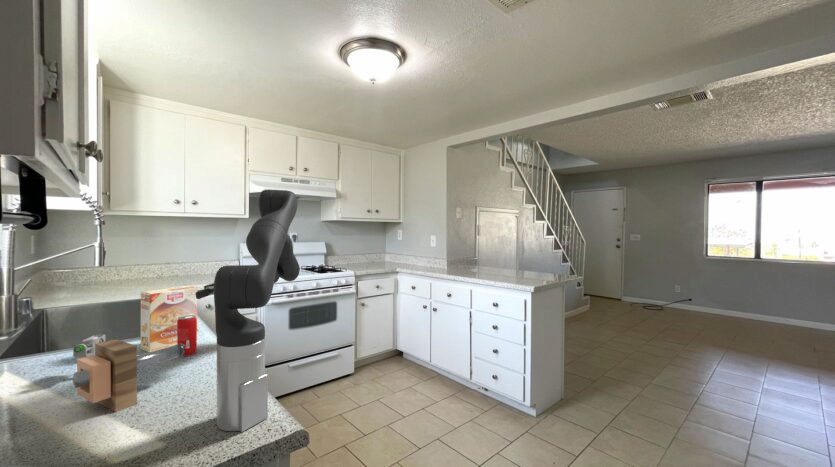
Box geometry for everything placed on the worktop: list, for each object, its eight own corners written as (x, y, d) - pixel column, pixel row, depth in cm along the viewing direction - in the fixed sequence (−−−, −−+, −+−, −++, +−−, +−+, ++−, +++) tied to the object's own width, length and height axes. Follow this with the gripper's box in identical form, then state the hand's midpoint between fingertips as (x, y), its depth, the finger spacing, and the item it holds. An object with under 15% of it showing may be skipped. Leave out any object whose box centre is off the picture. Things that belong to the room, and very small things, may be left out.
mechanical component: (70, 384, 90) (70, 346, 90) (95, 368, 100) (95, 334, 99) (84, 382, 91) (84, 345, 90) (107, 367, 100) (107, 333, 100)
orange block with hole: (110, 397, 77) (110, 361, 77) (93, 403, 74) (92, 366, 74) (94, 389, 80) (94, 354, 80) (77, 394, 78) (77, 359, 78)
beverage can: (173, 355, 111) (173, 317, 110) (190, 350, 115) (190, 314, 115) (183, 358, 108) (183, 320, 108) (200, 352, 113) (199, 316, 113)
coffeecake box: (149, 353, 112) (149, 293, 111) (139, 349, 115) (139, 291, 115) (198, 340, 125) (198, 286, 124) (187, 337, 128) (187, 285, 128)
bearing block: (136, 403, 80) (136, 345, 80) (115, 411, 77) (115, 351, 76) (116, 393, 85) (116, 339, 85) (95, 401, 81) (95, 343, 81)
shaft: (177, 354, 94) (177, 342, 94) (184, 357, 92) (184, 344, 92) (72, 386, 75) (72, 370, 75) (79, 389, 74) (79, 374, 74)
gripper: (233, 268, 117) (188, 282, 102) (267, 273, 113) (224, 288, 98) (235, 289, 119) (191, 306, 104) (268, 294, 114) (226, 313, 99)
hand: (207, 297), depth 101 cm, fingers open, 8 cm apart
